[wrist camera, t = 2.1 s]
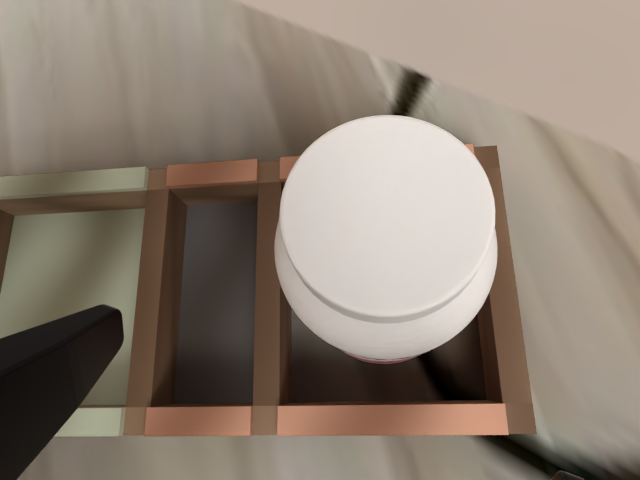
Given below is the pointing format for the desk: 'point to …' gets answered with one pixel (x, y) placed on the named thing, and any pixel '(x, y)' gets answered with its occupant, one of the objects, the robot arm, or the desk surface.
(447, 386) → the desk surface
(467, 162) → the pill bottle
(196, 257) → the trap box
